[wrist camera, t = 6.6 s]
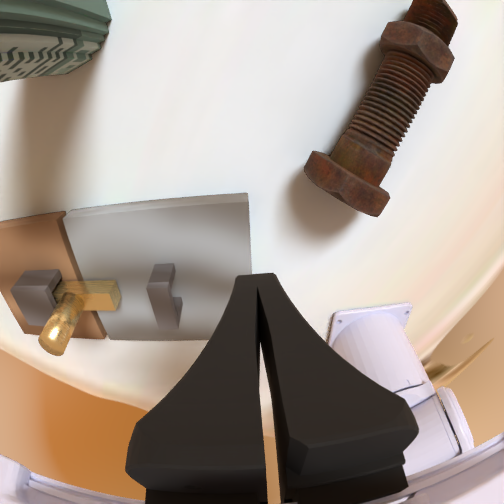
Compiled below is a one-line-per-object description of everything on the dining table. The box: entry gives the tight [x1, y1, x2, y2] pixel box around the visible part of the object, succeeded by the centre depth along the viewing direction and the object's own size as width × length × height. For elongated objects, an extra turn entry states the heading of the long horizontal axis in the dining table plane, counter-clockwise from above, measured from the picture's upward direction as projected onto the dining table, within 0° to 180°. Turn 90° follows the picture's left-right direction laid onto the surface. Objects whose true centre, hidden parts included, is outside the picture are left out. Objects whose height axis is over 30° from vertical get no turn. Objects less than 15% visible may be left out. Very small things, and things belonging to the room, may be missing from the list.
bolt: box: [304, 0, 458, 217], centre depth 15 cm, size 6×5×15 cm
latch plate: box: [0, 193, 252, 341], centre depth 21 cm, size 12×24×4 cm, turn 92°
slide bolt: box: [38, 280, 121, 356], centre depth 19 cm, size 2×9×6 cm, turn 92°
